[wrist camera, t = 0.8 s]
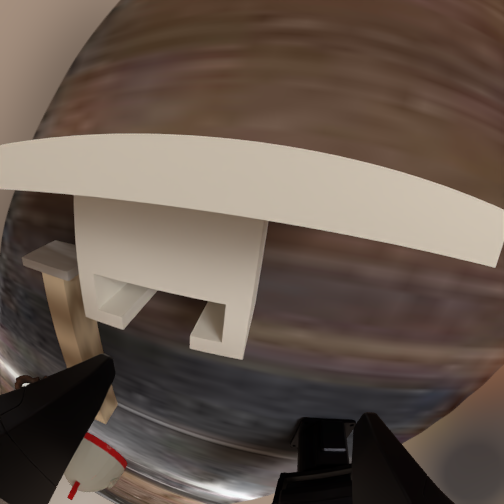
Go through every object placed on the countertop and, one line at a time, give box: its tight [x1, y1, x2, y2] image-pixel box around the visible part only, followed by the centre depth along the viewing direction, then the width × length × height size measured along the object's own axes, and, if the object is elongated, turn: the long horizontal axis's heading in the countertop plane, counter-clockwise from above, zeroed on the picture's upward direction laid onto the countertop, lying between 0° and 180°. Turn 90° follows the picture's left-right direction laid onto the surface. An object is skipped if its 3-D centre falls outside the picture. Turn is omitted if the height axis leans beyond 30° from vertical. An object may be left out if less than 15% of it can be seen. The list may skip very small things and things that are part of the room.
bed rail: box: [22, 240, 118, 424], centre depth 24 cm, size 23×6×5 cm, turn 172°
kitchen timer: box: [64, 432, 127, 500], centre depth 32 cm, size 14×14×15 cm
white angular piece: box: [0, 134, 504, 360], centre depth 14 cm, size 12×24×14 cm, turn 82°
